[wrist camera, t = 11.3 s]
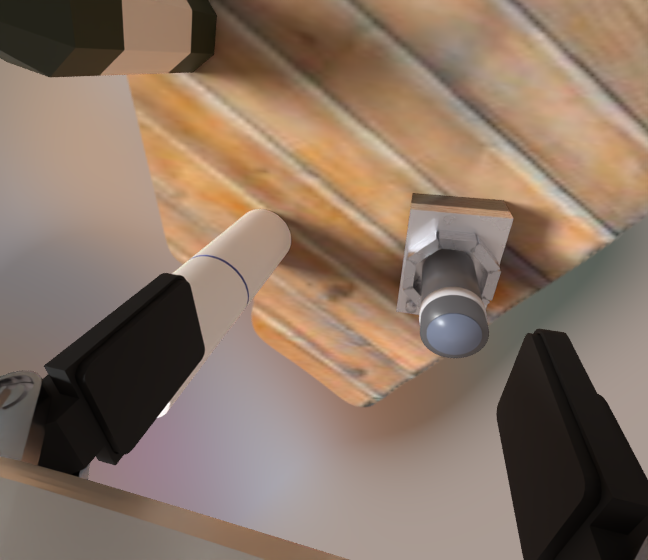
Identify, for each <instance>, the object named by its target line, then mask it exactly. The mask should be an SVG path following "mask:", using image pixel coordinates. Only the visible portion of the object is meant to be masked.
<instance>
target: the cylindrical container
mask: <svg viewBox="0 0 648 560" xmlns="http://www.w3.org/2000/svg"><path fill="white" fill-rule="evenodd" d="M290 246H291V234H290V230H289V228H288V226H287V225H286V223H285V222H284V221H283V219H282V218H281V217H279V216H278V215H277V214H275V213H273V212H271V211H269V210H265V209H254V210H251V211H249V212H248V213H246V214H245V215H244V216H242V217H241V218H240V219H239V220H237V221H236V222H235V223H234V224H233V225H231V226H230V227H229V228H228V229H226V230H225V231H224V232H223V233H222V234H220V235H219V236H218V237H217V238H215V239H214V240H213V241H212V242H210V243H209V244H208V245H207V246H205V247H204V248H203V249H202V250H200V251H199V252H198V253H197V254H196V255H194V256H193V257H192V258H191V259H189V260H188V261H187V262H186V263H184V264H183V265H182V266H181V267H180V268H178V269H177V270H176V271H175V272H173V273H172V274H175V275H181V276H184V278H185V279H186V281H188V282H189V283H190V286H191V290H192V294H193V298H194V302H195V307H196V311H197V315H198V320H199V324H200V328H201V333H202V337H203V341H204V345H205V353H204V356H203V358H202V360H201V361H200V363H199V364H198V365H197V367H196V368H195V369H194V370H193V372H192V373H191V374H190V376H189V377H188V378H187V379H186V381H185V382H184V383H183V385H182V386H181V387H180V389H179V390H178V391H177V392H176V394H175V395H174V396H173V398H172V399H171V400H170V402H169V403H168V404H167V405H166V407H165V408H164V409H163V411H162V412H161V413H160V414H159V416H158V417H161V416H163V415H164V414H166V413H167V411H168V410H169V409H170V408H171V406H172V405H173V403H174V402H175V401H176V400H177V398H178V397H179V396H180V394H181V393H182V392H183V390H184V389H185V388H186V386H187V385H188V384H189V382H190V381H191V380H192V378H193V377H194V376H195V374H196V373H197V372H198V370H199V369H200V368H201V367H202V365H203V364H204V362H205V361H206V360H207V359H208V357H209V356H210V355H211V353H212V352H213V351H214V349H215V348H216V347H217V345H218V344H219V343H220V341H221V340H222V339H223V337H224V336H225V335H226V333H227V332H228V331H229V329H230V328H231V327H232V325H233V324H234V323H235V321H236V320H237V319H238V318H239V316H240V315H241V314H242V312H243V311H244V309H245V308H246V307H247V306H248V304H249V303H250V302H251V300H252V299H253V298H254V296H255V295H256V294H257V292H258V291H259V290H260V288H261V287H262V286H263V284H264V283H265V282H266V280H267V279H268V278H269V277H270V275H271V274H272V273H273V271H274V270H275V269H276V267H277V266H278V265H279V263H280V262H281V261H282V259H283V258H284V257H285V255H286V254H287V252H288V251H289V249H290ZM158 417H157V418H158Z"/></svg>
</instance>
